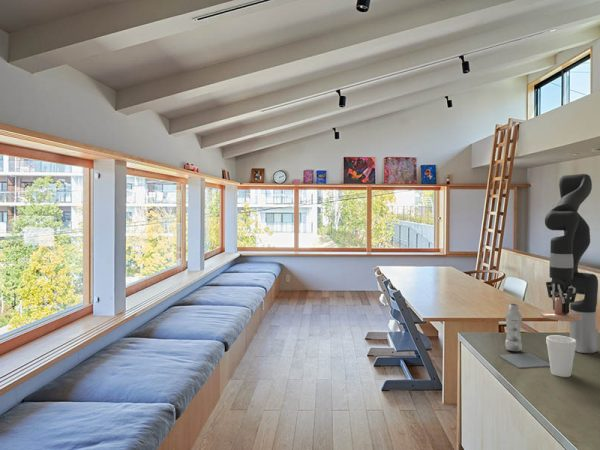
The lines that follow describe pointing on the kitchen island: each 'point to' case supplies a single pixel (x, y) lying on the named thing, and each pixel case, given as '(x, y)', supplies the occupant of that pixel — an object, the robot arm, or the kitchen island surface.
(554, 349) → the foam cup
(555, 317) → the lid
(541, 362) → the mat
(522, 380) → the kitchen island surface
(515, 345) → the plastic bottle
